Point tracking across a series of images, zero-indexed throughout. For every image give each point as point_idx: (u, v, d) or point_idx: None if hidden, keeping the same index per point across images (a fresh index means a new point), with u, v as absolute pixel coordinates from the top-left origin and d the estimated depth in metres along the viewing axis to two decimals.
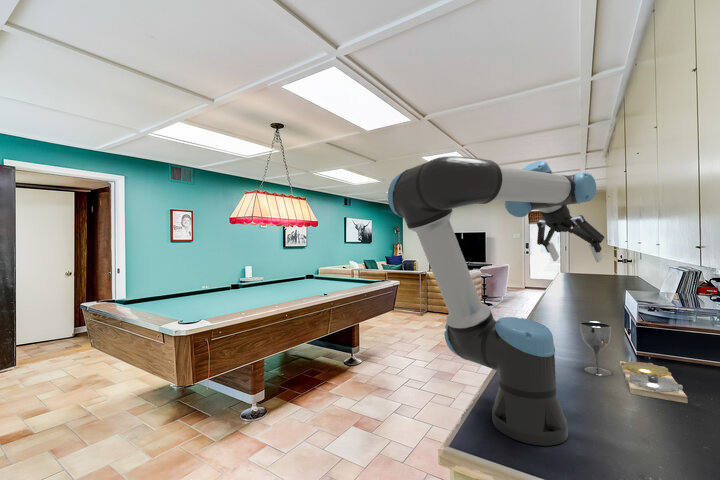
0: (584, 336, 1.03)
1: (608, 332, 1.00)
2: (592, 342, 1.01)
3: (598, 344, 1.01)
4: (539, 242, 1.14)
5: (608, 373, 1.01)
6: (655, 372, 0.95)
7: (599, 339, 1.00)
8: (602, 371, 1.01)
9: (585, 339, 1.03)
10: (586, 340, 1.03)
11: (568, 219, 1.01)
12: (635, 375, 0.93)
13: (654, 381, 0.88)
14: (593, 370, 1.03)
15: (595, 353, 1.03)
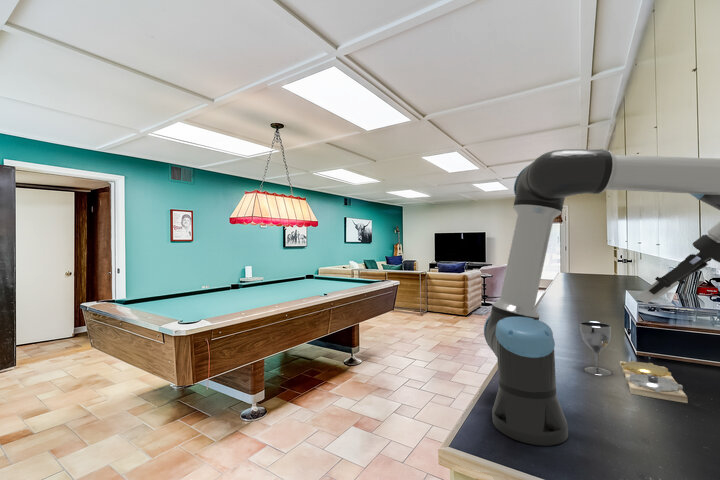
0: (584, 336, 1.03)
1: (608, 332, 1.00)
2: (592, 342, 1.01)
3: (598, 344, 1.01)
4: None
5: (608, 373, 1.01)
6: (655, 372, 0.95)
7: (599, 339, 1.00)
8: (602, 371, 1.01)
9: (585, 339, 1.03)
10: (586, 340, 1.03)
11: (697, 254, 0.82)
12: (635, 375, 0.93)
13: (654, 381, 0.88)
14: (593, 370, 1.03)
15: (595, 353, 1.03)
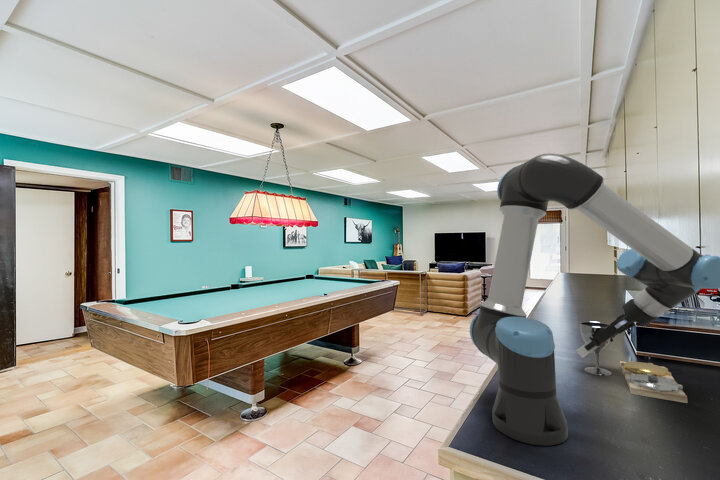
0: (584, 336, 1.03)
1: None
2: None
3: None
4: None
5: (608, 373, 1.01)
6: (655, 372, 0.95)
7: None
8: (602, 371, 1.01)
9: (585, 339, 1.03)
10: (586, 340, 1.03)
11: (624, 317, 0.95)
12: (635, 375, 0.93)
13: (654, 381, 0.88)
14: (593, 370, 1.03)
15: (595, 353, 1.03)
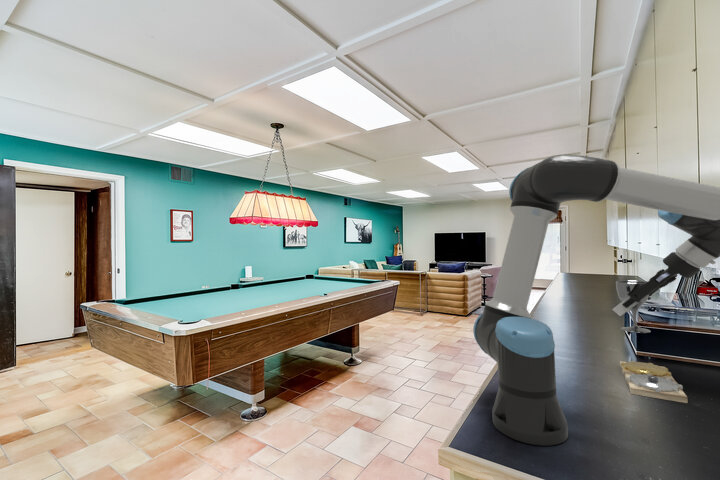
0: (621, 294, 1.00)
1: None
2: None
3: None
4: None
5: (647, 331, 0.98)
6: (655, 372, 0.95)
7: None
8: (641, 329, 0.99)
9: (622, 297, 1.00)
10: (623, 298, 1.00)
11: (666, 270, 0.92)
12: (635, 375, 0.93)
13: (654, 381, 0.88)
14: (631, 328, 1.00)
15: (633, 311, 1.00)
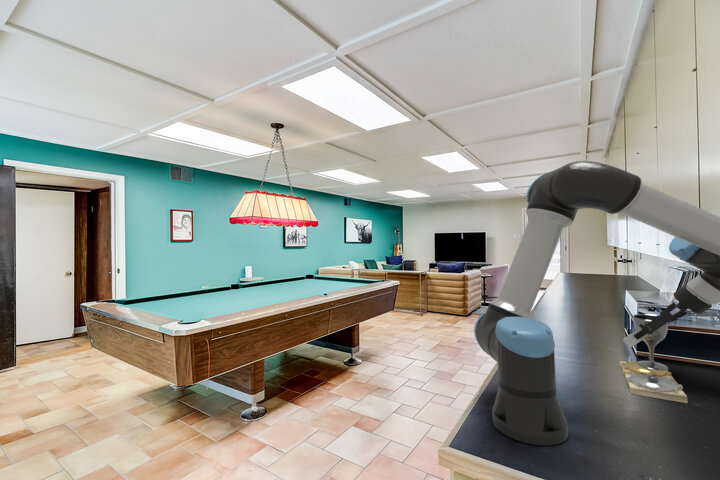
0: None
1: (665, 326, 0.96)
2: (648, 336, 0.98)
3: (654, 338, 0.97)
4: None
5: (664, 367, 0.98)
6: (655, 372, 0.95)
7: (656, 333, 0.96)
8: (657, 365, 0.98)
9: None
10: None
11: (677, 305, 0.91)
12: (635, 375, 0.93)
13: (654, 381, 0.88)
14: (648, 364, 0.99)
15: (650, 347, 1.00)
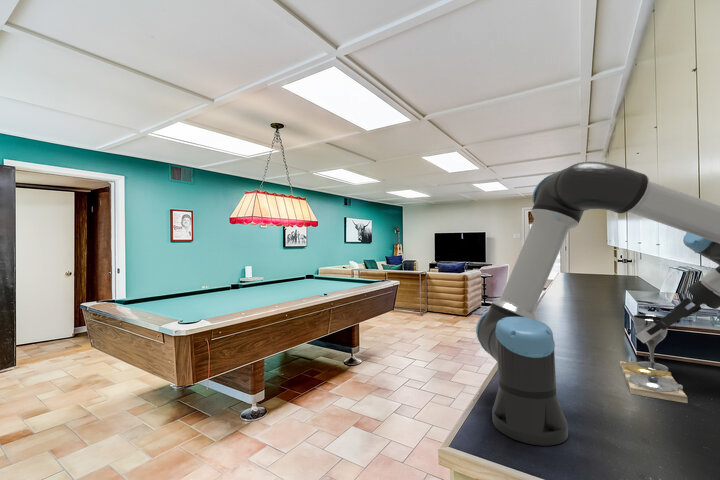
0: (638, 330, 1.00)
1: None
2: None
3: (654, 338, 0.97)
4: None
5: (664, 368, 0.97)
6: (655, 372, 0.95)
7: None
8: (658, 366, 0.98)
9: None
10: None
11: (691, 300, 0.89)
12: (635, 375, 0.93)
13: (654, 381, 0.88)
14: (648, 364, 0.99)
15: (650, 347, 1.00)
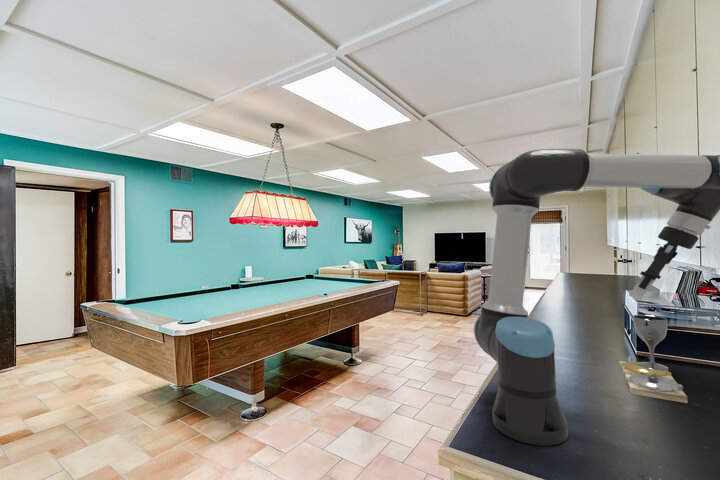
0: (638, 330, 1.00)
1: (665, 325, 0.97)
2: (647, 336, 0.98)
3: (654, 337, 0.97)
4: None
5: (665, 368, 0.97)
6: (655, 372, 0.95)
7: (655, 333, 0.97)
8: (658, 366, 0.98)
9: (639, 333, 1.00)
10: (640, 334, 1.00)
11: (667, 244, 0.88)
12: (635, 375, 0.93)
13: (654, 381, 0.88)
14: (648, 365, 0.99)
15: (650, 347, 1.00)
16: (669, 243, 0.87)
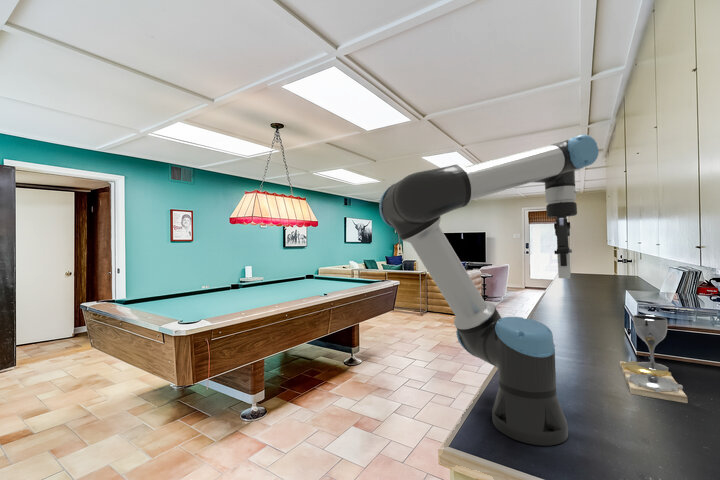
0: (638, 330, 1.00)
1: (665, 325, 0.97)
2: (647, 336, 0.98)
3: (654, 337, 0.97)
4: None
5: (665, 368, 0.97)
6: (655, 372, 0.95)
7: (655, 333, 0.97)
8: (658, 366, 0.98)
9: (639, 333, 1.00)
10: (640, 334, 1.00)
11: None
12: (635, 375, 0.93)
13: (654, 381, 0.88)
14: (648, 365, 0.99)
15: (650, 347, 1.00)
16: (558, 217, 0.91)
